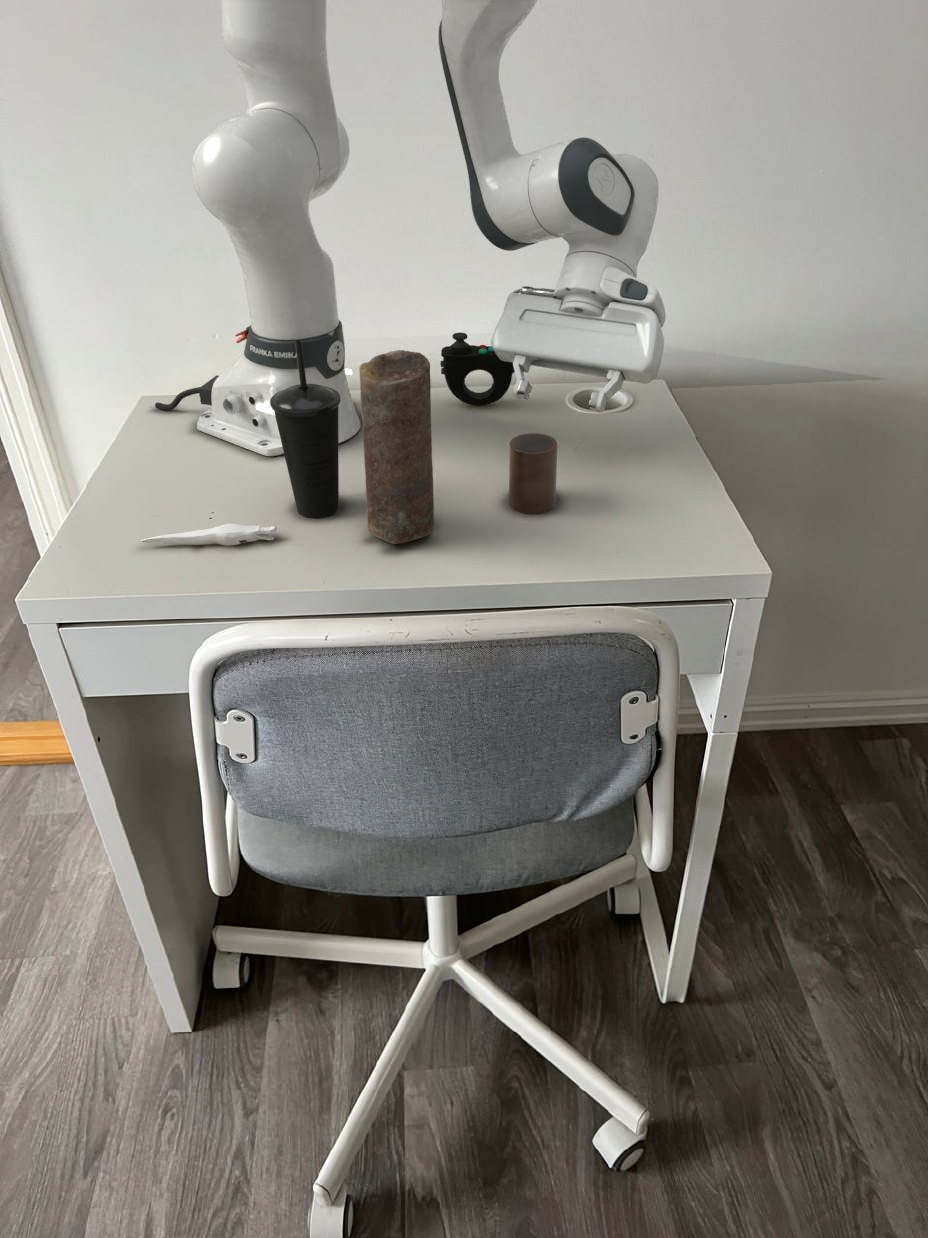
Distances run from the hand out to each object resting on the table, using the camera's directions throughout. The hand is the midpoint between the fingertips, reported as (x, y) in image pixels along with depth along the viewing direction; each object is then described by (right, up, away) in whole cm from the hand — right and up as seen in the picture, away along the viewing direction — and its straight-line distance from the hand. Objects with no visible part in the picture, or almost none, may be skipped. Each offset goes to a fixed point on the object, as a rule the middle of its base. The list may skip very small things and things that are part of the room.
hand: (557, 403), depth 114 cm
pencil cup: (-3, -11, +1) cm, 12 cm away
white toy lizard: (-39, -17, -5) cm, 43 cm away
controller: (-8, +5, +25) cm, 27 cm away
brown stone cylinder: (-18, -16, -4) cm, 24 cm away
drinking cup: (-28, -12, +1) cm, 30 cm away
